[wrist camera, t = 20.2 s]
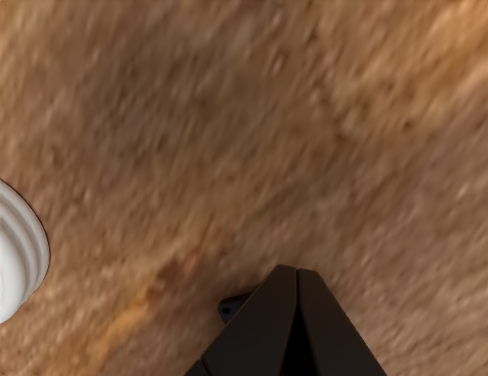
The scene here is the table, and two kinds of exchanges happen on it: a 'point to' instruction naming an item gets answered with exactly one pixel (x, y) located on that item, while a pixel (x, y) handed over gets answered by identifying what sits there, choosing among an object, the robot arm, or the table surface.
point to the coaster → (19, 252)
